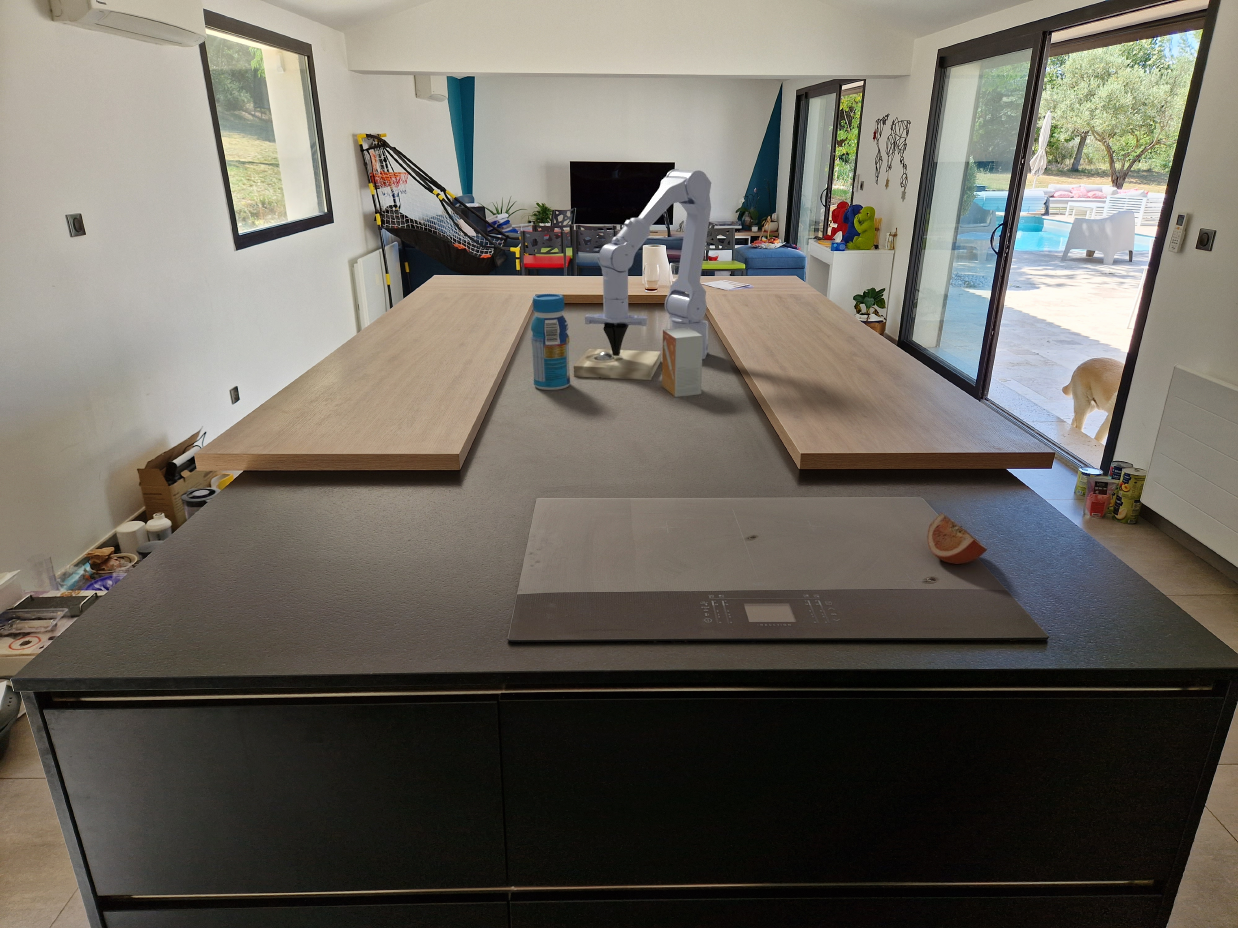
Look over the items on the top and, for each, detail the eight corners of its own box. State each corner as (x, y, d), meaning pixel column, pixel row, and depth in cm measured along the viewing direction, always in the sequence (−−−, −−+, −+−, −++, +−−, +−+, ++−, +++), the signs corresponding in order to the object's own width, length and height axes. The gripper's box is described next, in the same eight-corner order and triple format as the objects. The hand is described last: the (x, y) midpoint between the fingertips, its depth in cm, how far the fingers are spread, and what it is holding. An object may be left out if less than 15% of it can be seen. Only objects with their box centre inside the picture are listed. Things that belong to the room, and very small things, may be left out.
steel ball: (597, 347, 194) (593, 362, 196) (601, 356, 191) (597, 370, 193) (612, 349, 195) (608, 363, 198) (617, 357, 192) (613, 372, 195)
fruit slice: (915, 545, 111) (920, 512, 109) (961, 542, 112) (967, 509, 110) (945, 575, 104) (950, 541, 102) (994, 572, 104) (1001, 537, 102)
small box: (661, 387, 180) (661, 329, 175) (688, 384, 182) (689, 327, 177) (674, 397, 173) (675, 337, 168) (702, 394, 175) (703, 335, 170)
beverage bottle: (525, 388, 181) (520, 298, 173) (546, 378, 187) (542, 291, 180) (558, 393, 177) (554, 301, 169) (577, 383, 184) (575, 294, 176)
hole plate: (660, 361, 200) (660, 351, 199) (650, 379, 186) (650, 369, 185) (589, 358, 203) (589, 348, 202) (573, 376, 189) (573, 365, 188)
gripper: (581, 300, 186) (582, 357, 191) (643, 301, 183) (643, 360, 188) (588, 294, 192) (589, 350, 197) (648, 295, 189) (648, 352, 195)
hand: (616, 354), depth 193 cm, fingers closed
